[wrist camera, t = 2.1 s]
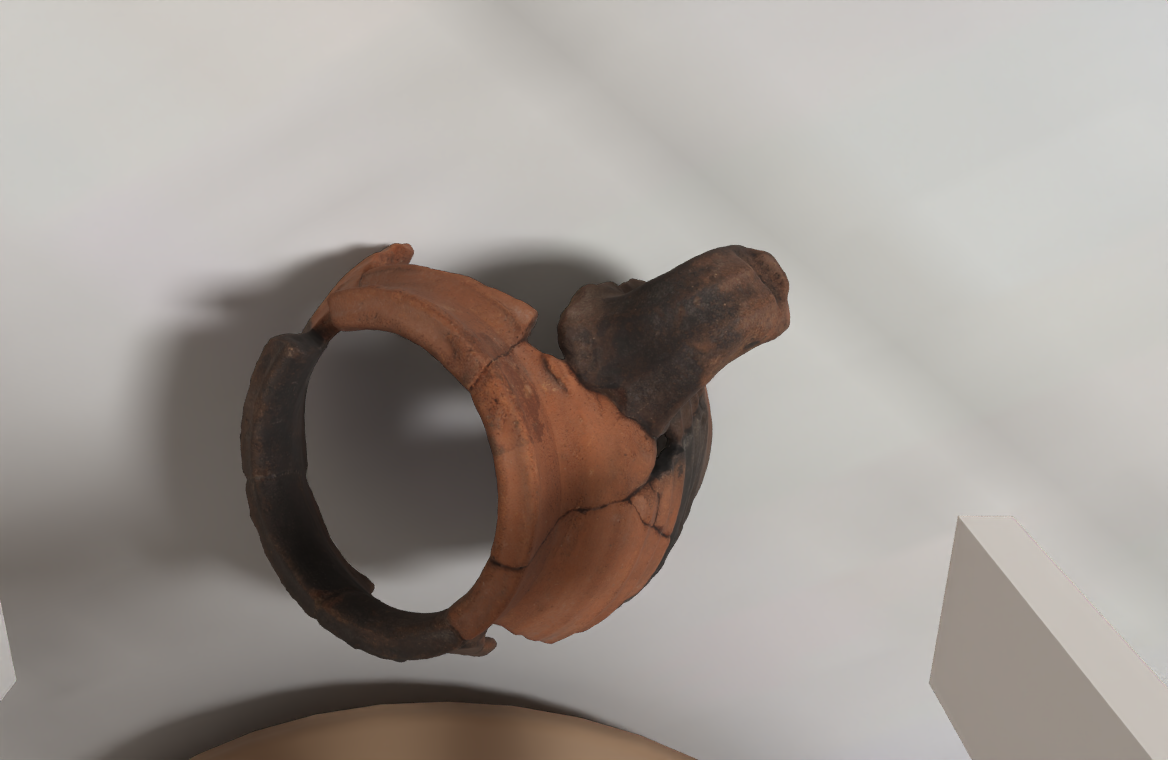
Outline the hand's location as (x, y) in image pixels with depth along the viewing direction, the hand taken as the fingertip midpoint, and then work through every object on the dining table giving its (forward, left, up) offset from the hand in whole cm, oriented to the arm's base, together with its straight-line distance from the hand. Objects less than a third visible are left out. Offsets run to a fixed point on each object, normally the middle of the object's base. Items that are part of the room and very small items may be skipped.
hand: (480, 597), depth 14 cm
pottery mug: (-1, +1, -11) cm, 11 cm away
